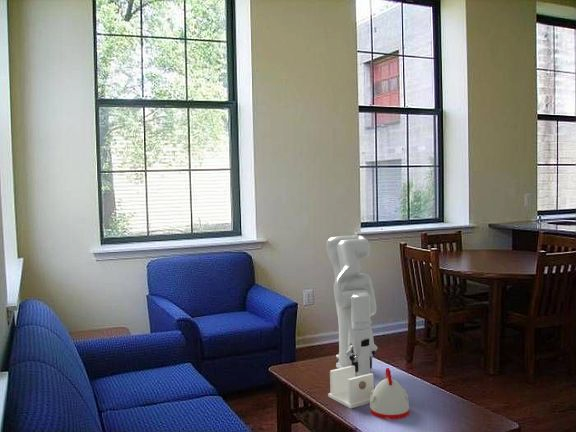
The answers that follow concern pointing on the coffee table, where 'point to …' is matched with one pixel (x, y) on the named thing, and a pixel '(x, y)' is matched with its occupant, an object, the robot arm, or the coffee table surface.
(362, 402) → the holder
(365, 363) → the travel mug
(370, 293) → the robot arm
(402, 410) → the kitchen timer
